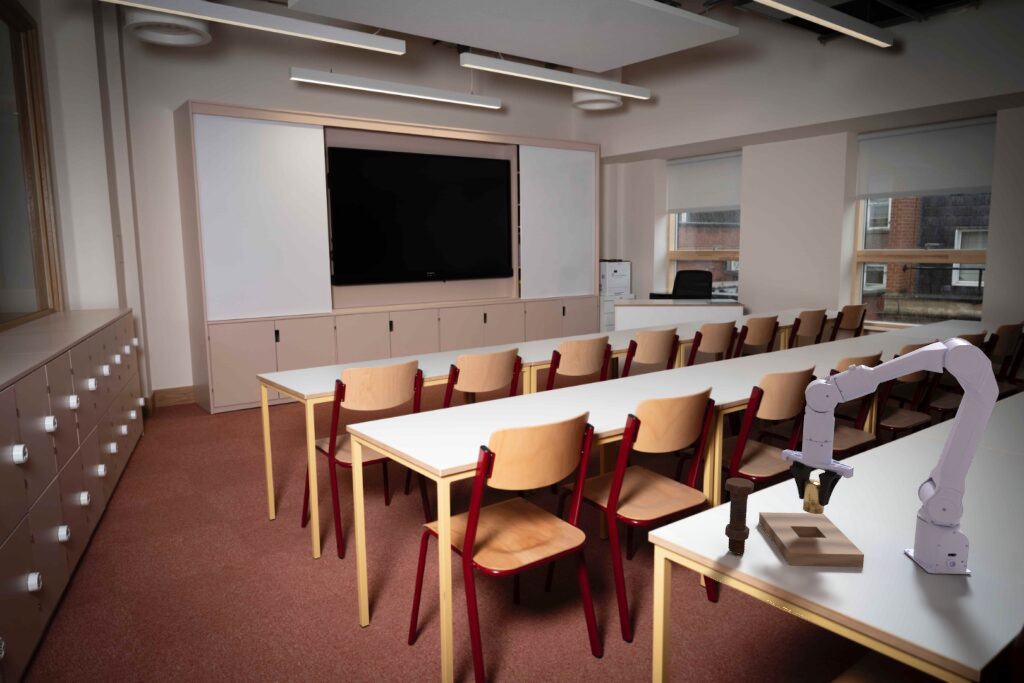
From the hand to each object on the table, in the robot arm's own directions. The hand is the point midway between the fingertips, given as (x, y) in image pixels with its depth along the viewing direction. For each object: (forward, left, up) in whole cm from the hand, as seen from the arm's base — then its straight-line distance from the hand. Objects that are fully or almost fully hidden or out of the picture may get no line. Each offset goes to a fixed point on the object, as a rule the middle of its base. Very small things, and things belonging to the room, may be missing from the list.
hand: (813, 501), depth 142 cm
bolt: (-6, +17, -9) cm, 20 cm away
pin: (0, 0, -2) cm, 2 cm away
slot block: (-1, +1, -9) cm, 9 cm away
